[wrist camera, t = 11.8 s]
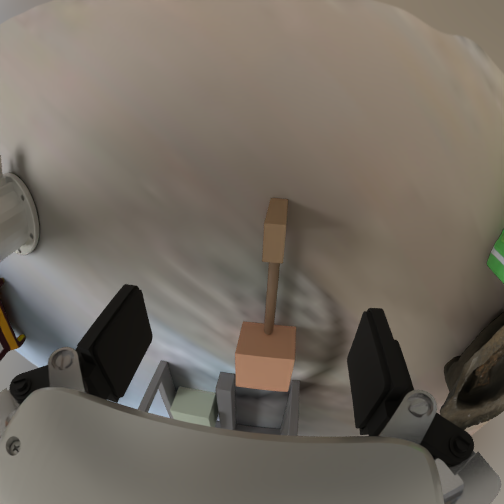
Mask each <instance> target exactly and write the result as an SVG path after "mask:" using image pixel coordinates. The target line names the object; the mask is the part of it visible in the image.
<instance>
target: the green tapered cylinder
mask: <svg viewBox="0 0 504 504" xmlns="http://www.w3.org/2000/svg"><path fill="white" fill-rule="evenodd" d="M487 266H488V267H489V268H490V269H491V270H492V271H493V273H494V274H495V275H496V276H497V277H498V278H499V279H500V280H501V281H502V282H503V284H504V229H503V231H502V234H501V236H500V237H499V239H498V240H497V241H496V243H495V245H494V247H493V249H492V251H491V253H490V256H489V258H488V261H487Z"/></svg>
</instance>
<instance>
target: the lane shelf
mask: <svg viewBox="0 0 504 504" xmlns="http://www.w3.org/2000/svg"><path fill="white" fill-rule="evenodd" d="M158 389H159V391H160V394H161V397H162V399H163V402H164V404H165V407H166V409H167V411H168V414H169V416H170V418H171V419H174V418H173V416H172V414H171V411H170V409H171V406H172V404H173V401H174V398H175V396H176V391H175V387H174V384H173V381H172V378H171V374H170V371H169V367H168V364H167V362H165V361H160V363H159V365H158V367H157V369H156V372H155V374H154V376H153V378H152V380H151V382H150V384H149V386H148V388H147V391H146V393H145V395H144V397H143V399H142V401H141V403H140V406H139V408H138V410H141V411H144V412H148V411H149V408H150V406H151V404H152V401H153V399H154V397H155V395H156V392H157V390H158ZM299 390H300V381H294V380H293V381H292V385H291V389H290V393H289V397H288V402H287V406H286V409H285V413H284V417H283V421H282V425H281V429H272V428H262V427H254V426H246V425H239V424H236V406H235V374H230V373H224V372H220V375H219V379H218V382H217V386H216V395H217V403H218V411H219V418H220V421H216V424H215V427H216V428H222V429H228V430H235V431H243V432H252V433H261V434H272V435H286V436H287V435H288V436H297V432H298V413H299Z"/></svg>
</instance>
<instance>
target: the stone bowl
mask: <svg viewBox="0 0 504 504" xmlns="http://www.w3.org/2000/svg"><path fill="white" fill-rule="evenodd" d="M496 360H497V361H496ZM444 374H445V380H446V383H447V386H448V389H449V392H450V393H449V394H448V397H447V399H446V401H445V403H444V405H443V406H441V409H440V415H441V416H442V417H444V418H445V419H447V420H449V421H450V422H452V423H453V424H455V425H456V426H458V427H460V428H461V429H463V430H465V429H466V428H467V427H470V426H473V425H478V424H479V423H480V422H481V423H482V422H486V421H489V419H493V418H494V417H496V416H498V415H499V414H500V413H501V412H503V411H504V313H502V314H501V315H500V316H499V317H498V318H497V319H496V320H494V321H493V322H491V323H490V324H489V326H488V327H487V328H486V329H484V330H483V331H482V333H481V334H480V335H479V336H478V337H477V338H476V339H475V340H474V341H473V342H472V344H471V345H470V346H469V347H468V348H467V349H466V350H465V352H464V353H463V354H462V355H461V357H460V358H458V357H455V358H453V359H452V360H451V361H450V362H448V363H447V364H446V365H445V367H444Z"/></svg>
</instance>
